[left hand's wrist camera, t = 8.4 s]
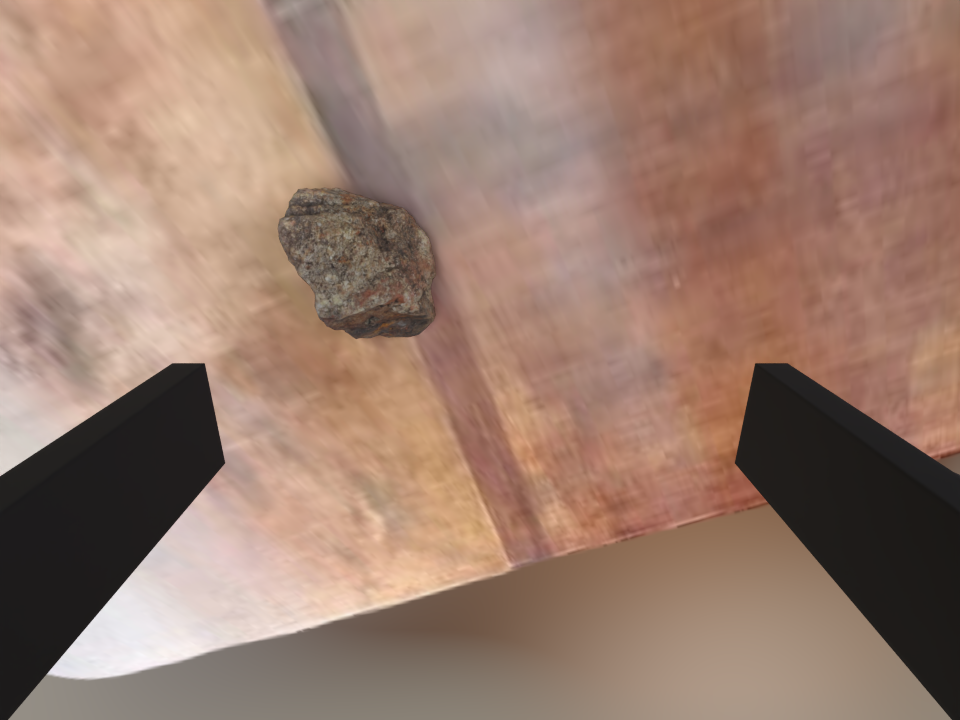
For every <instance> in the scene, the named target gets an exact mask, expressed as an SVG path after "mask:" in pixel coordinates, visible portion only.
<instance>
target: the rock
mask: <svg viewBox="0 0 960 720" xmlns="http://www.w3.org/2000/svg"><path fill="white" fill-rule="evenodd" d="M278 232H279V239H280V242H281V244H282V246H283V248H284V250H285V252H286V254H287V256H288V260H289V261H290V262H291V263H292V264H293V265H294V266H295V268H296V270H297V273H298V275H299V276H300V277H301V278H302V279H303V280H304V281H305V282H306V283H307V284H309V285H310V286H311V288H312V290H313V292H314V293H315V308H316V311H317V313H318V316H319V318H320V320H322V321H323V322H324V323H325V324H326V326H327V327H330V328H332V329H334V330H345V332H347V333H349V334H350V335H351V336H352V337H354V338H355V339H358V338H372V337H375V336H378V335H381V336H385V337H411V336H415V335H418V334H420V333H421V332H422V331H423V330H424V329H425V328H427V326H428V325H429V324H430V323H432V322H433V320H434V317H435V312H434V304H433V300H432V296H431V289H430V286H431V284H432V279H433V278H434V277H435V275H436V273H435V262H434V256H433V254H432V250H431V244H430V241H429V238H428V237H427V236H426V233H425V232H424V231H423V230H422V229H421V228H420V227H419V226H418V225H417V224H416V222H415V220H414V218H413V217H412V216H411V215H409V214H408V212H407V211H406V210H404V209H403V208H399V207H398V206H394V205H392V204H385V203H378V202H376V201H374V200H371V199H369V198H366V197H363V196H361V195H355V194H351V193H349V192H347V191H344V190H341V189H339V188H334V189H329V188H322V189H308V188H305V189H298V191H297V192H296V193H295V194H294V195H293V197H292V199H291V200H290V202H289V208H288V209H287V211H286V214H285V217H283V218H281V219H280V220H279V225H278Z"/></svg>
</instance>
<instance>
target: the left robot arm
mask: <svg viewBox="0 0 960 720" xmlns="http://www.w3.org/2000/svg"><path fill="white" fill-rule="evenodd" d="M224 464H225V460H224V455H223V450H222V445H221V441H220V436H219V431H218V426H217V421H216V416H215V411H214V406H213V402H212V397H211V392H210V387H209V382H208V377H207V372H206V367H205V363H172V364H171V365H169V366H168V367H166V368H165V369H163V370H162V371H160V372H159V373H157V374H156V375H154V376H153V377H151V378H150V379H148V380H146V381H145V382H143V383H142V384H140V385H139V386H137V387H136V388H134V389H133V390H131V391H130V392H128V393H127V394H125V395H124V396H122V397H121V398H119V399H117V400H116V401H114V402H113V403H111V404H110V405H108V406H107V407H105V408H104V409H102V410H101V411H99V412H98V413H96V414H95V415H93V416H92V417H90V418H88V419H87V420H85V421H84V422H82V423H81V424H79V425H78V426H76V427H75V428H73V429H72V430H70V431H69V432H67V433H66V434H64V435H63V436H61V437H59V438H58V439H56V440H55V441H53V442H52V443H50V444H49V445H47V446H46V447H44V448H43V449H41V450H40V451H38V452H37V453H35V454H34V455H32V456H30V457H29V458H27V459H26V460H24V461H23V462H21V463H20V464H18V465H17V466H15V467H14V468H12V469H11V470H9V471H8V472H6V473H5V474H3V475H1V476H0V720H8V719H9V718H10V717H11V716H12V714H13V713H14V712H15V711H16V710H17V708H18V707H19V706H20V705H21V704H22V703H23V701H24V700H25V699H26V698H27V697H28V695H29V694H30V693H31V692H32V691H33V690H34V688H35V687H36V686H37V685H38V684H39V682H40V681H41V680H42V679H43V678H44V677H45V675H46V674H47V673H48V672H49V671H50V669H51V668H52V667H53V666H54V665H55V664H56V662H57V661H58V660H59V659H60V658H61V656H62V655H63V654H64V653H65V652H66V651H67V649H68V648H69V647H70V646H71V645H72V643H73V642H74V641H75V640H76V639H77V638H78V636H79V635H80V634H81V633H82V632H83V630H84V629H85V628H86V627H87V626H88V625H89V623H90V622H91V621H92V620H93V619H94V617H95V616H96V615H97V614H98V613H99V612H100V610H101V609H102V608H103V607H104V606H105V604H106V603H107V602H108V601H109V600H110V599H111V597H112V596H113V595H114V594H115V593H116V591H117V590H118V589H119V588H120V587H121V586H122V584H123V583H124V582H125V581H126V580H127V578H128V577H129V576H130V575H131V574H132V573H133V571H134V570H135V569H136V568H137V567H138V566H139V564H140V563H141V562H142V561H143V560H144V558H145V557H146V556H147V555H148V554H149V553H150V551H151V550H152V549H153V548H154V547H155V545H156V544H157V543H158V542H159V541H160V540H161V538H162V537H163V536H164V535H165V534H166V532H167V531H168V530H169V529H170V528H171V527H172V525H173V524H174V523H175V522H176V521H177V519H178V518H179V517H180V516H181V515H182V514H183V512H184V511H185V510H186V509H187V508H188V506H189V505H190V504H191V503H192V502H193V501H194V499H195V498H196V497H197V496H198V495H199V493H200V492H201V491H202V490H203V489H204V488H205V486H206V485H207V484H208V483H209V482H210V480H211V479H212V478H213V477H214V476H215V475H216V473H217V472H218V471H219V470H220V469H221V467H222V466H223V465H224ZM735 464H736V465H737V466H738V467H739V469H740V470H741V471H742V472H743V473H744V475H745V476H746V477H747V478H748V479H749V480H750V482H751V483H752V484H753V485H754V486H755V488H756V489H757V490H758V491H759V492H760V493H761V495H762V496H763V497H764V498H765V499H766V501H767V502H768V503H769V504H770V505H771V506H772V508H773V509H774V510H775V511H776V512H777V514H778V515H779V516H780V517H781V518H782V519H783V521H784V522H785V523H786V524H787V525H788V527H789V528H790V529H791V530H792V531H793V532H794V534H795V535H796V536H797V537H798V538H799V540H800V541H801V542H802V543H803V544H804V545H805V547H806V548H807V549H808V550H809V551H810V552H811V554H812V555H813V556H814V557H815V558H816V560H817V561H818V562H819V563H820V564H821V565H822V567H823V568H824V569H825V570H826V571H827V573H828V574H829V575H830V576H831V577H832V578H833V580H834V581H835V582H836V583H837V584H838V586H839V587H840V588H841V589H842V590H843V591H844V593H845V594H846V595H847V596H848V597H849V599H850V600H851V601H852V602H853V603H854V604H855V606H856V607H857V608H858V609H859V610H860V611H861V613H862V614H863V615H864V616H865V617H866V619H867V620H868V621H869V622H870V623H871V624H872V626H873V627H874V628H875V629H876V630H877V632H878V633H879V634H880V635H881V636H882V638H883V639H884V640H885V641H886V642H887V643H888V645H889V646H890V647H891V648H892V649H893V651H894V652H895V653H896V654H897V655H898V656H899V658H900V659H901V660H902V661H903V662H904V664H905V665H906V666H907V667H908V668H909V669H910V671H911V672H912V673H913V674H914V675H915V676H916V678H917V679H918V680H919V681H920V682H921V684H922V685H923V686H924V687H925V688H926V690H927V691H928V692H929V693H930V694H931V695H932V697H933V698H934V699H935V700H936V701H937V703H938V704H939V705H940V706H941V707H942V708H943V710H944V711H945V712H946V713H947V714H948V716H949V717H950V718H951V719H952V720H960V475H959V474H957V473H954V472H952V471H951V470H949V469H948V468H946V467H945V466H943V465H942V464H940V463H939V462H937V461H936V460H934V459H933V458H931V457H930V456H928V455H926V454H925V453H923V452H922V451H920V450H919V449H917V448H916V447H914V446H913V445H911V444H910V443H908V442H907V441H905V440H904V439H902V438H901V437H899V436H897V435H896V434H894V433H893V432H891V431H890V430H888V429H887V428H885V427H884V426H882V425H881V424H879V423H878V422H876V421H875V420H873V419H872V418H870V417H868V416H867V415H865V414H864V413H862V412H861V411H859V410H858V409H856V408H855V407H853V406H852V405H850V404H849V403H847V402H846V401H844V400H843V399H841V398H839V397H838V396H836V395H835V394H833V393H832V392H830V391H829V390H827V389H826V388H824V387H823V386H821V385H820V384H818V383H817V382H815V381H814V380H812V379H810V378H809V377H807V376H806V375H804V374H803V373H801V372H800V371H798V370H797V369H795V368H794V367H792V366H791V365H789V364H788V363H755V367H754V372H753V377H752V382H751V387H750V392H749V397H748V402H747V406H746V411H745V416H744V421H743V426H742V431H741V436H740V441H739V445H738V450H737V455H736V460H735Z"/></svg>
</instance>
